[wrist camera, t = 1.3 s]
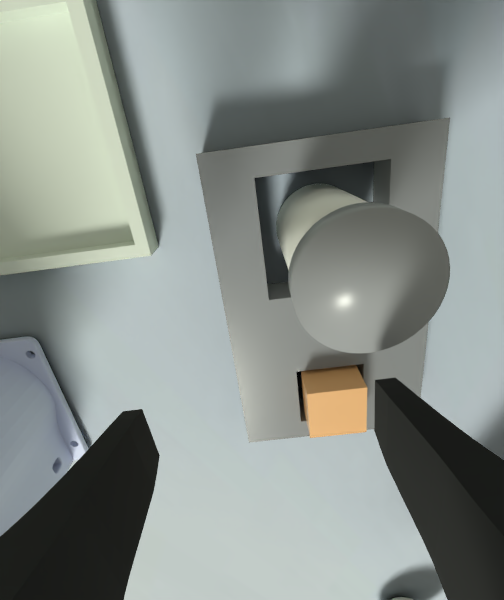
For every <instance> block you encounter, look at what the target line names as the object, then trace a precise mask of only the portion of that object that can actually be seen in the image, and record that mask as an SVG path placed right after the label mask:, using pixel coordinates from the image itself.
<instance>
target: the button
mask: <svg viewBox="0 0 504 600" xmlns="http://www.w3.org/2000/svg"><path fill="white" fill-rule="evenodd" d="M301 377H302V389H303V401H304V412H305V416H306V421H307V425H308V430H309V435H310V438H314V437H323V436H333V435H342V434H351V433H361V432H366V429H367V386H366V384H365V382H364V380H363V378H362V376H361V374H360V372H359V370H358V368H357V366H356V365H349V366H340V367H332V368H323V369H314V370H306V371H301Z"/></svg>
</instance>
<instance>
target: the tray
mask: <svg viewBox="0 0 504 600" xmlns="http://www.w3.org/2000/svg"><path fill="white" fill-rule="evenodd" d="M158 247H159V245H158V242H157V238H156V234H155V230H154V226H153V222H152V218H151V214H150V210H149V206H148V202H147V198H146V194H145V190H144V187H143V183H142V179H141V175H140V171H139V167H138V163H137V159H136V155H135V151H134V147H133V143H132V139H131V136H130V132H129V128H128V124H127V120H126V116H125V112H124V108H123V104H122V100H121V96H120V92H119V88H118V84H117V81H116V77H115V73H114V69H113V65H112V61H111V57H110V53H109V49H108V45H107V41H106V37H105V33H104V30H103V26H102V22H101V18H100V14H99V10H98V6H97V2H96V0H0V275H8V274H15V273H23V272H30V271H38V270H45V269H53V268H61V267H68V266H76V265H83V264H91V263H99V262H106V261H114V260H121V259H129V258H137V257H144V256H151V255H152V254H153V253H154V252H155V251H156V249H157V248H158Z"/></svg>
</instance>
